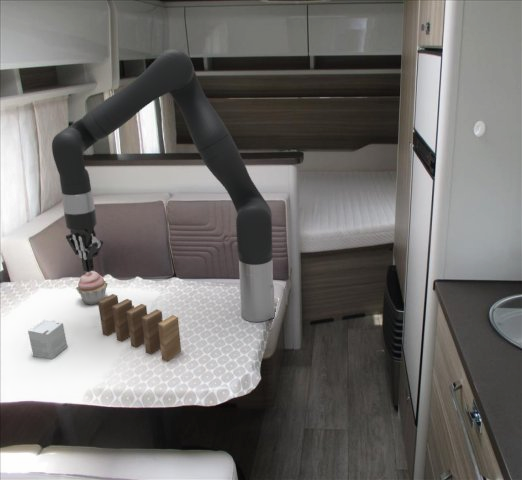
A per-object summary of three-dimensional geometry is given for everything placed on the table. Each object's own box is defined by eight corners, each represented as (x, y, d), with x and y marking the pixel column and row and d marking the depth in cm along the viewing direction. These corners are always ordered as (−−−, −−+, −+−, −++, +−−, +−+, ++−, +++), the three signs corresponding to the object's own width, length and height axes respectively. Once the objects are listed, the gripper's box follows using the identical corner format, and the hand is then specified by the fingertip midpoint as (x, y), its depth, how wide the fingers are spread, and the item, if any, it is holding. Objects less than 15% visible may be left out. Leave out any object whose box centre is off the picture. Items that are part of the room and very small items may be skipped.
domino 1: (121, 328, 141) (117, 295, 137) (107, 336, 137) (102, 302, 133) (117, 326, 142) (112, 293, 138) (102, 334, 138) (97, 301, 134)
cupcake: (72, 305, 154) (66, 275, 151) (88, 292, 163) (84, 263, 159) (99, 308, 152) (95, 277, 149) (115, 294, 160) (111, 265, 157)
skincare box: (48, 343, 134) (43, 318, 132) (68, 347, 133) (63, 321, 130) (32, 356, 129) (27, 330, 126) (52, 359, 127) (47, 333, 125)
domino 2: (135, 333, 138) (131, 300, 134) (121, 342, 134) (116, 308, 131) (131, 331, 139) (127, 298, 135) (116, 340, 135) (112, 306, 132)
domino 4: (165, 345, 132) (161, 311, 128) (150, 354, 128) (146, 319, 125) (160, 343, 133) (156, 309, 129) (145, 352, 129) (141, 317, 126)
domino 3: (150, 339, 135) (146, 305, 131) (135, 348, 131) (131, 313, 128) (145, 337, 136) (141, 303, 132) (131, 346, 132) (126, 311, 129)
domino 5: (181, 351, 129) (177, 316, 125) (167, 361, 125) (163, 325, 122) (176, 349, 130) (172, 314, 126) (161, 359, 126) (157, 323, 123)
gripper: (108, 208, 130) (116, 271, 136) (75, 201, 138) (84, 261, 144) (83, 216, 125) (93, 281, 131) (50, 208, 132) (61, 270, 138)
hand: (88, 270), depth 137 cm, fingers closed
